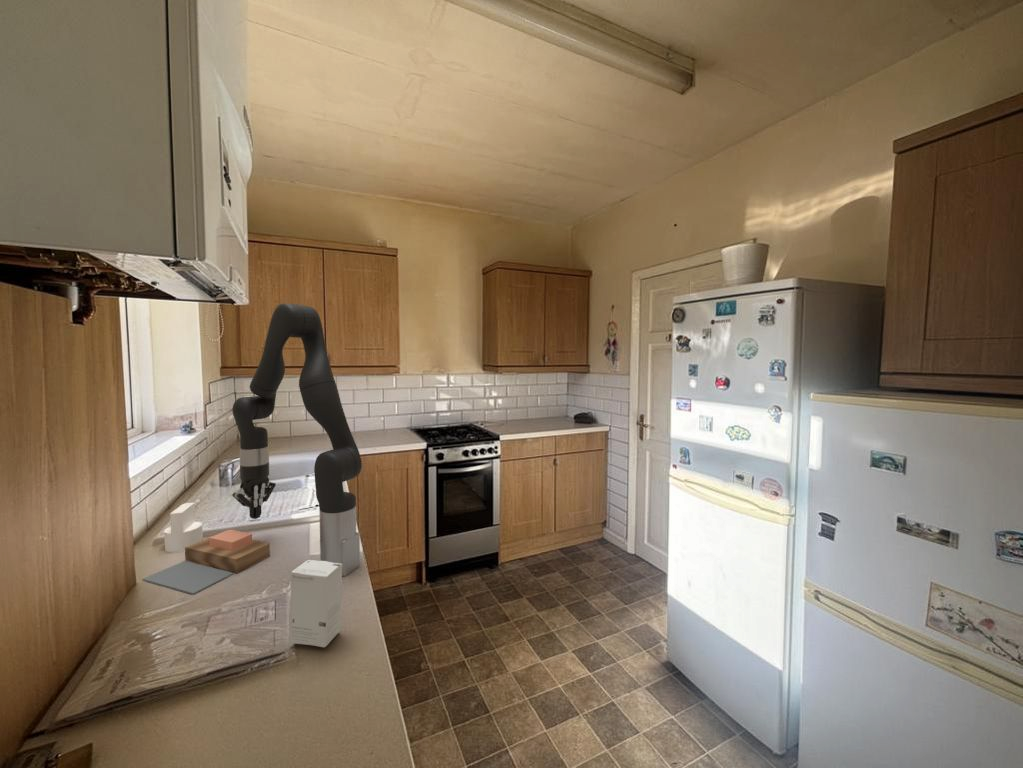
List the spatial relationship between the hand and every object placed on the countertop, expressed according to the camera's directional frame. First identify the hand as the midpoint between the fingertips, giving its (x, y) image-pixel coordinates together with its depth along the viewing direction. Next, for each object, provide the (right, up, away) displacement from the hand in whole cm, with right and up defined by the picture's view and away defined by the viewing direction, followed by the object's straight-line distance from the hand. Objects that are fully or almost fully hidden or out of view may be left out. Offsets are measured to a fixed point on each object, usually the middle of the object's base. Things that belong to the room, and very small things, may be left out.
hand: (255, 517), depth 124 cm
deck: (-3, -9, -8) cm, 13 cm away
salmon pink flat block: (-2, -5, -7) cm, 9 cm away
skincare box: (+38, -12, -40) cm, 56 cm away
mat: (-6, -10, -18) cm, 21 cm away
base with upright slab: (-21, -9, -1) cm, 23 cm away
